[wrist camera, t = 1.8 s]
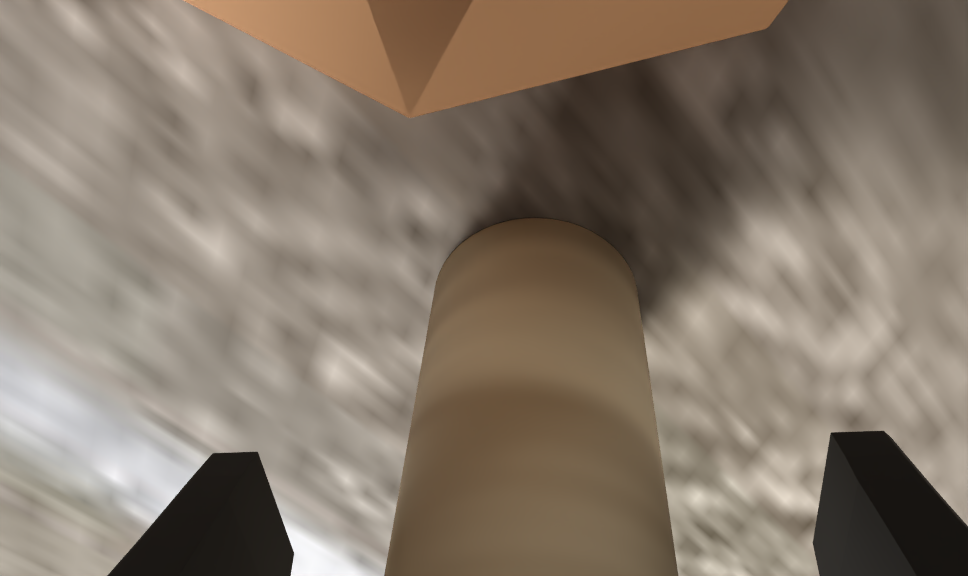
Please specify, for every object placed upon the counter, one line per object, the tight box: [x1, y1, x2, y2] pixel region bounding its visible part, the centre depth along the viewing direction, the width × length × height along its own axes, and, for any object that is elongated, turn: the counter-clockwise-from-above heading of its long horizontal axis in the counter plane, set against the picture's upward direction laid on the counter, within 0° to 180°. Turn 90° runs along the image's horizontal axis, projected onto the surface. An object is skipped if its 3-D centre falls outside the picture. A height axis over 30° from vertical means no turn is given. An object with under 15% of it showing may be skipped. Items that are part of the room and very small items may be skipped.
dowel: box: [384, 218, 678, 576], centre depth 11 cm, size 3×3×8 cm
